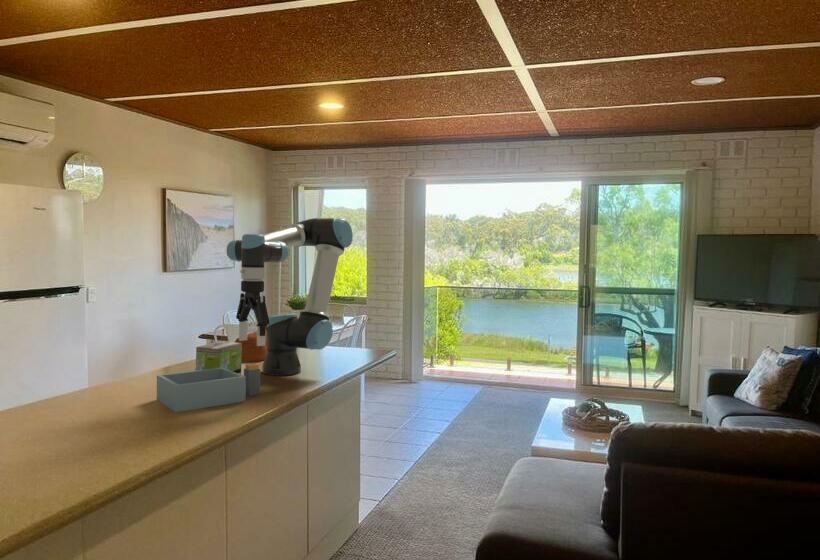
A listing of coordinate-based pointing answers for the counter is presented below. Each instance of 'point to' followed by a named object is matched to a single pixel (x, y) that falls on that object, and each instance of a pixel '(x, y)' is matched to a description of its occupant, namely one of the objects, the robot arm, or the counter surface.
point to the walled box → (200, 389)
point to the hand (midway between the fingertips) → (251, 343)
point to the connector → (252, 379)
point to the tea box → (219, 356)
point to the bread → (253, 348)
